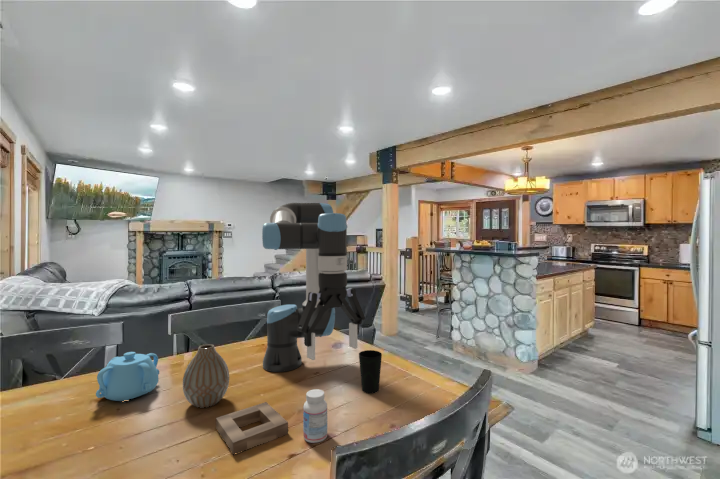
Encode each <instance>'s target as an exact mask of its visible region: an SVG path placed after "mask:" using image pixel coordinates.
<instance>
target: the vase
mask: <svg viewBox="0 0 720 479" xmlns="http://www.w3.org/2000/svg"><path fill="white" fill-rule="evenodd" d="M229 384H230V371H229V367H228V364H227V362H226V360H225V359H224V358H223V356H221V355H220V353H218V351H217V350H216V348H215V345H214V344H208V343H206V344H202V345H199V346H198V349H197V352H196V353H195V355H193V357H192V358H191V360H190V361H189V363H188V365H187V367H186V368H185V371H184V373H183V379H182V391H183V394H184V398H185V399H186V400H187V401H188V403H190V404H191V405H192V406H194V407H196V408H198V407H200V408H199V409H204V407H206V408H210V407H213V406H215V405H216V404H218V403H219V402H220V401H221V400H222V399H223V397H224V396H225V395H226V392H227V390H228V388H229ZM212 405H213V406H212ZM209 406H210V407H209Z"/></svg>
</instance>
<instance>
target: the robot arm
mask: <svg viewBox="0 0 720 479" xmlns="http://www.w3.org/2000/svg"><path fill="white" fill-rule="evenodd" d="M261 230H262V236H261V238H262V247H263V248H264V249H266V250H275V251H278V250H305V281H306V282H305V287H306V288H305V291H306V292H305V300H304V301H303V302H302V303H301V304H302V307H299V308H298V305H297V304H289V303H288V304H282V305H277V306H275V307H272V308H271V309H269V310H268V311H267V315H266V316H267V317H266V318H267V319H266V325H267V326H266V328H267V331H266V332H267V333H266V335H267V336H266V342H267V343H266V344H267V346H266V350H265V353H264V357H263V359H262V368H263V370H265V371H268V372H271V373H283V372H289V371H293V370H296V369H298V368H300V367H301V366H302V364H303V362H302V359H303V357H302V355H301V353H300V352H301V351H300V349H299V346H298V339H303V344H304V346H306V358H307V359H309V360H311V361H315V360H316V338H317V337H318V338H322V337H328V336H330V335H331V334H332V333H333V332H334V327H335V322H336V309H335V308H341V309H342V311H343V312H344V314H345V315H346V316H347V317H348V319H349V320H350V321H351V322H348V343H349V347H350V348H352V349H358V335H359V334H360V325H361V324H362V323H363V321H364V320H365V319H366V317H365V314H364V311H363V308H362V307H361V304H360V302H359V298H357V291H356V290H357V289H356V288H354V287H353V288H352V287H347V285H348V273H347V272H346V271H347V270H348V264H347V263H348V259H347V258H348V254H347V252H348V251H347V250H348V249H347V245H348V244H347V242H348V241H347V237H348V236H347V234H348V233H347V230H348V224H347V215H345V214H344V213H340V212H339V213H338V212H334V210H333V207H332V205H331V204H329V203H325V202H324V203H323V202H322V203H321V202H290V203H289V202H288V203H285V204H282V205H279V206H278V207H276V208H275V209H274V210H272V212H271V214H270V217H269V222H265V223H264V224H263V225H262V229H261ZM346 287H347V288H346ZM346 297H347V298H348V301H347V300H346ZM349 303H350V305H349Z"/></svg>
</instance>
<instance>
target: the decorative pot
mask: <svg viewBox="0 0 720 479" xmlns="http://www.w3.org/2000/svg"><path fill="white" fill-rule="evenodd" d="M151 357H153V360H152V358H151ZM158 363H159V356H158V355H157V354H156V353H153V352H150V353H147V354H144V353H136V351H128V352H125V353H123V356H114V357H112V358H111V359H110V360H109V362H108V363H107V365H106V366H105V367H103V368H102V369H100V371H99V372H97V376H96V379H97V384H98V385H99V386H98V387H99V388H98V389H97V390H96V392H95V396H96V398H98V399H101V398H105V399H107V400H110V401H115V402H116V401H117V402H121V401H124V400H129V399H131V400H133V399H134V398H138V397H141V396H144V395H146V394H149V393H150V392H152V391H153V390H154V389H155V388H156V387H157V385H158V383H159V382H160V381H159V380H160V378H159V375H160V370H159V369H158V368H157V366H158ZM148 392H149V393H148Z"/></svg>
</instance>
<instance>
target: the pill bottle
mask: <svg viewBox="0 0 720 479" xmlns="http://www.w3.org/2000/svg"><path fill="white" fill-rule="evenodd" d="M325 396H326V395H325V391H324V390H323V389H318V388H317V389H310V390H308V391H307V392H306V395H305V400H306V401H304V404H303V408H302V409H303V412H302V414H303V415H302V416H303V417H302V418H303V420H302V422H303V425H302V426H303V430H302V431H303V432H302V433H303V439H304V440H305V442H307V443H310V444H311V443H312V444H316V443H320V442H323V441H324V440H326V439H327V437H328V403H327V401H326V400H325Z"/></svg>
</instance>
